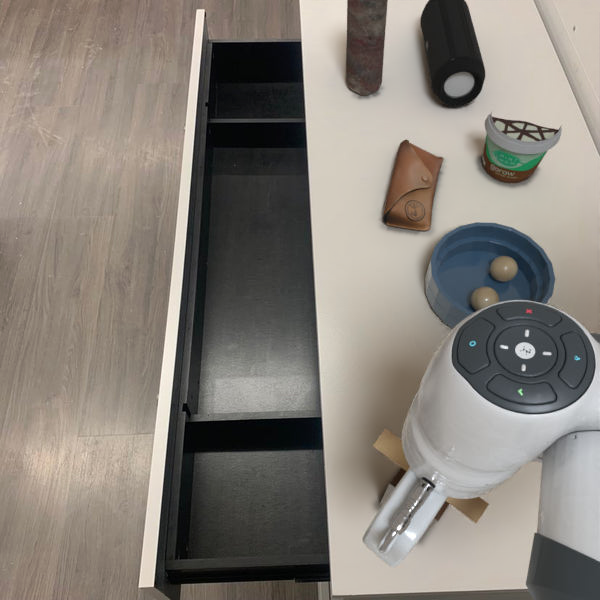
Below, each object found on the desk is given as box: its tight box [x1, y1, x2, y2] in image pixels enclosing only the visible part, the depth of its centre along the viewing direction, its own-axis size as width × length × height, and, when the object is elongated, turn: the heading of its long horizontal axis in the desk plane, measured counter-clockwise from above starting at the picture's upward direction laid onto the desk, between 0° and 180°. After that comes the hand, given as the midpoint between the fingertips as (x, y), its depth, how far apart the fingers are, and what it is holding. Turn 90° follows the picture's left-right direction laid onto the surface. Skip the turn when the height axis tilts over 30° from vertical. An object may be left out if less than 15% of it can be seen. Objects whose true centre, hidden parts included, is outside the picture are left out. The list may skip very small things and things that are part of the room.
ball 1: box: [471, 287, 499, 311], centre depth 78 cm, size 4×4×4 cm
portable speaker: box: [419, 0, 486, 108], centre depth 105 cm, size 26×10×10 cm, turn 179°
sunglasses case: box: [382, 139, 444, 232], centre depth 92 cm, size 18×7×7 cm
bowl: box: [424, 221, 556, 329], centre depth 79 cm, size 17×17×6 cm
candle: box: [345, 0, 388, 96], centre depth 100 cm, size 8×7×20 cm
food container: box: [481, 111, 563, 184], centre depth 90 cm, size 12×6×10 cm, turn 70°
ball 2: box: [490, 256, 518, 282], centre depth 81 cm, size 4×4×4 cm
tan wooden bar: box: [372, 428, 490, 524], centre depth 53 cm, size 12×2×1 cm, turn 50°
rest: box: [379, 467, 450, 533], centre depth 61 cm, size 6×5×12 cm
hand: (429, 476), depth 54 cm, fingers closed on tan wooden bar, 2 cm apart
